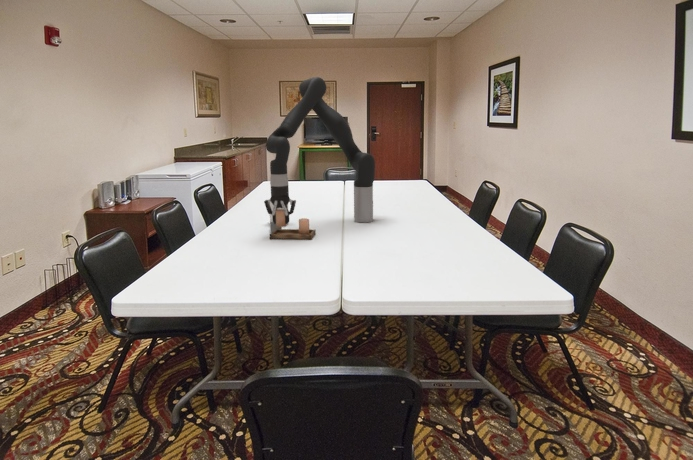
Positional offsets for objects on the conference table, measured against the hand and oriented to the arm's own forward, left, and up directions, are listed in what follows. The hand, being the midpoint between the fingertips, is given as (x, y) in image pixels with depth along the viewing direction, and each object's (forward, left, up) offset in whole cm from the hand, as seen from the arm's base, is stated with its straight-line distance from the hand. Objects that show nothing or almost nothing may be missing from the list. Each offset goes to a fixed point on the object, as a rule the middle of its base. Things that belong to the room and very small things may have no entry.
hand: (281, 223), depth 206 cm
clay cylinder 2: (-10, 0, -5) cm, 11 cm away
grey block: (+5, -9, -6) cm, 12 cm away
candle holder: (+7, -23, -6) cm, 24 cm away
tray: (-5, 0, -6) cm, 8 cm away
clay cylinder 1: (0, 0, -1) cm, 1 cm away
